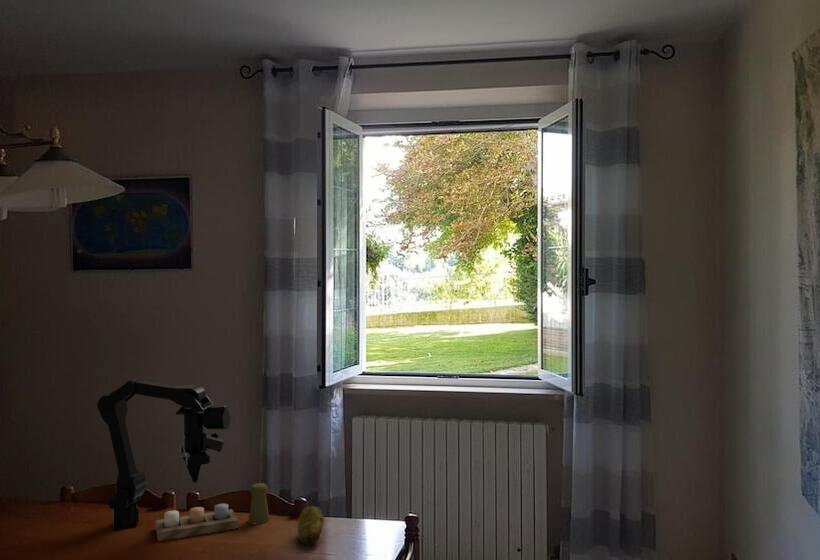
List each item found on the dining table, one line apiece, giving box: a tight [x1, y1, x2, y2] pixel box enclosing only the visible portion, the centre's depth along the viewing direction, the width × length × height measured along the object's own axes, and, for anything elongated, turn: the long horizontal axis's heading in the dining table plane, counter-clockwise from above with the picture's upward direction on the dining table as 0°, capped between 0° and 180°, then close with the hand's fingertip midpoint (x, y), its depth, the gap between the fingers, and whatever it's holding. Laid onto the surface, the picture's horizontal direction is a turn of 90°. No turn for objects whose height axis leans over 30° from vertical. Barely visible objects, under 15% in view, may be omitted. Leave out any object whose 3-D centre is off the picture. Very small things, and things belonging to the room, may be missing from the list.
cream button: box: [163, 510, 180, 528], centre depth 189 cm, size 4×4×4 cm
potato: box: [297, 505, 325, 546], centre depth 185 cm, size 8×13×8 cm, turn 169°
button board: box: [155, 508, 239, 542], centre depth 192 cm, size 22×10×2 cm, turn 115°
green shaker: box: [248, 482, 270, 525], centre depth 199 cm, size 6×6×11 cm
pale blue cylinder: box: [213, 503, 229, 520], centre depth 195 cm, size 4×4×4 cm
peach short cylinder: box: [189, 506, 205, 524], centre depth 192 cm, size 4×4×4 cm
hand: (194, 482), depth 192 cm, fingers closed
